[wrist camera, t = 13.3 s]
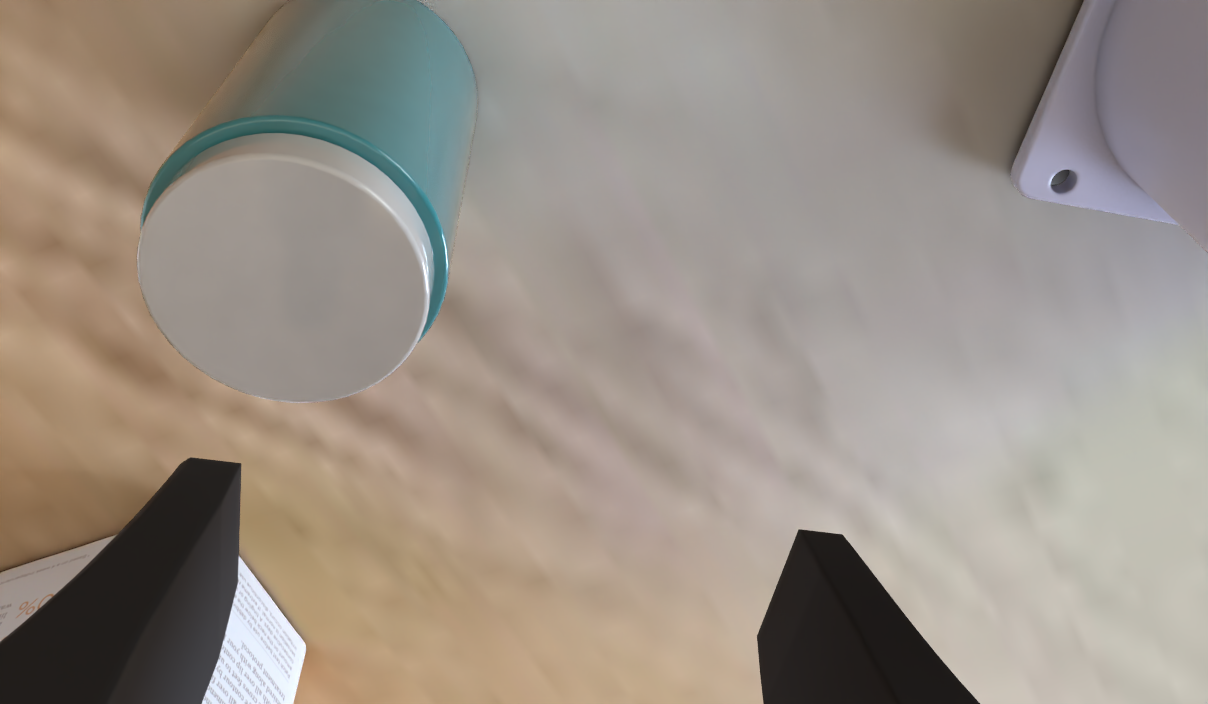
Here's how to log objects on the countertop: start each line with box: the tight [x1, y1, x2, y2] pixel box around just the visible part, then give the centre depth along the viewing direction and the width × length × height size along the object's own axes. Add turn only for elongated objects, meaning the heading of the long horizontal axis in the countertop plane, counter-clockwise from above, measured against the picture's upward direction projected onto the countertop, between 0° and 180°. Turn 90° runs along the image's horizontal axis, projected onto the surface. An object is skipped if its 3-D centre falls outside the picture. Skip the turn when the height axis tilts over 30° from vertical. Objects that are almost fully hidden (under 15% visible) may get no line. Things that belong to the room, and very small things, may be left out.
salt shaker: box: [137, 0, 478, 403], centre depth 18 cm, size 4×4×8 cm
